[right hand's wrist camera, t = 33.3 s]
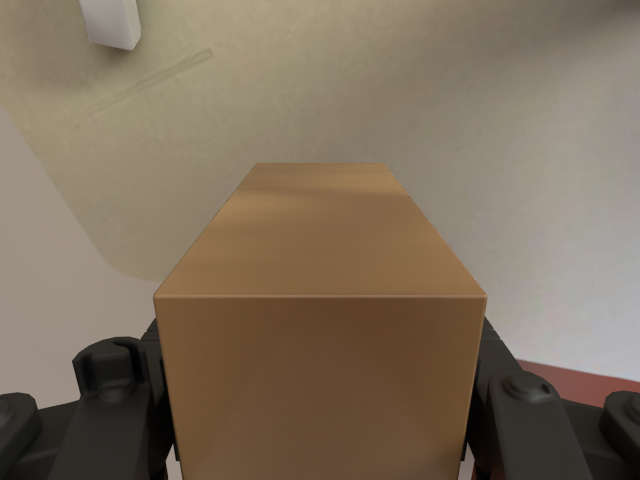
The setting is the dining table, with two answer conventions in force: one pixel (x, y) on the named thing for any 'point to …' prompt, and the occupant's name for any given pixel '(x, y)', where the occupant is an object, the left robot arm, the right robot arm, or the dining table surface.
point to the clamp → (111, 22)
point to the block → (320, 333)
